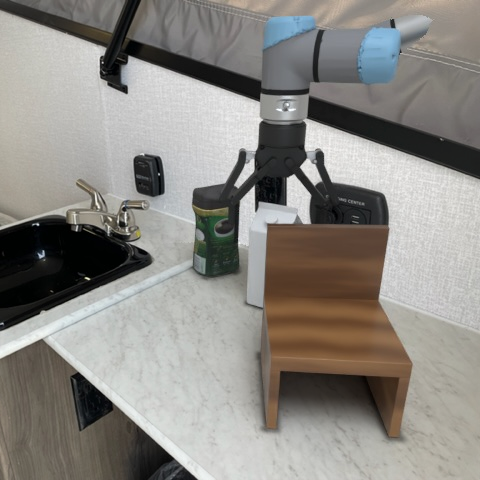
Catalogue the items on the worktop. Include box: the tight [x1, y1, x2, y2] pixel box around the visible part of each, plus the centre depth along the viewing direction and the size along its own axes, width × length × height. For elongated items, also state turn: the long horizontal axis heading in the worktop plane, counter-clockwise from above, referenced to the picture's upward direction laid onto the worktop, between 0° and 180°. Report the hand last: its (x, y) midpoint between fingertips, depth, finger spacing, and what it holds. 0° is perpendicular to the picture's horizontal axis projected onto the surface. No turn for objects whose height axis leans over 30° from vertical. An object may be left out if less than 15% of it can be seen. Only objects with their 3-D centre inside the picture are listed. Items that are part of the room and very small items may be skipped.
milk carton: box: [246, 201, 304, 309], centre depth 90 cm, size 7×7×19 cm
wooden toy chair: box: [259, 223, 414, 438], centre depth 65 cm, size 16×16×22 cm
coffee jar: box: [191, 182, 241, 278], centre depth 103 cm, size 10×8×19 cm
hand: (274, 241), depth 89 cm, fingers open, 13 cm apart
